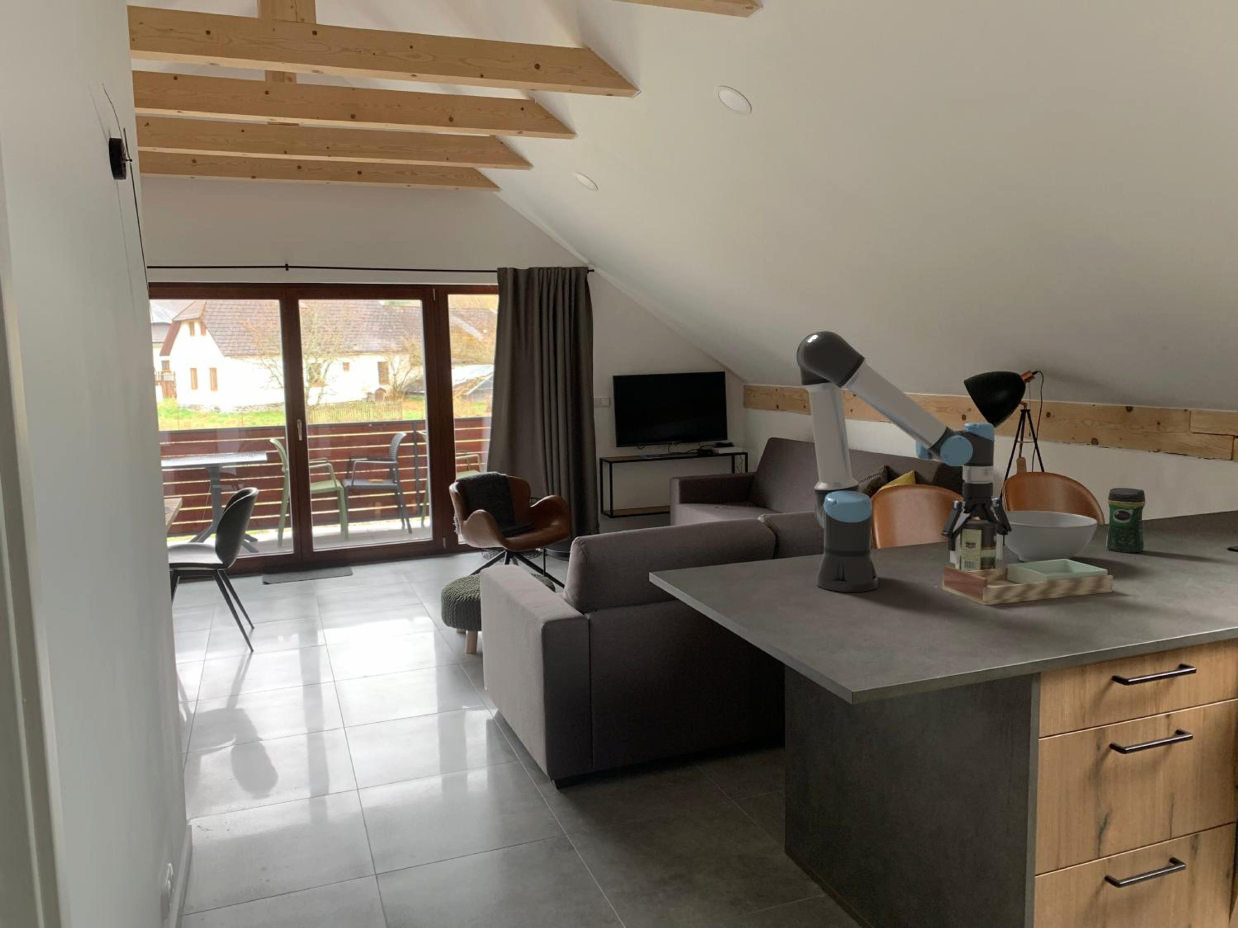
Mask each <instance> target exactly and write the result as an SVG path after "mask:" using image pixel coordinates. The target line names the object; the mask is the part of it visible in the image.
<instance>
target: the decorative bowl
mask: <svg viewBox="0 0 1238 928" xmlns="http://www.w3.org/2000/svg"><path fill="white" fill-rule="evenodd" d="M1005 513H1006V516H1007V518H1008V521H1009V523H1010V526H1011V528H1012V531H1011V532H1008V535H1005V546H1006V547H1007V548H1008V549H1009V550H1010V551H1012V552H1013V553H1014V554H1016V555H1018V560H1020V561H1022V562H1023V563H1026V562H1037V561H1048V560H1059V559H1068V560H1069V559H1070V558H1072V557H1074V556H1077V554H1079V553H1080V552H1081V551H1083V550H1084V549H1085V548H1086V547H1087V546H1088V544H1089V543H1090V542H1091V540H1092V539H1093V536H1094V535H1095V533H1096V530H1097V528H1098V525H1099V521H1098V520H1097V519H1095V518H1093V517H1090V516H1087V515H1082V514H1076V513H1070V512H1069V513H1068V512H1060V511H1049V510H1048V511H1046V510H1042V511H1041V510H1011V511H1005ZM994 516H995V517H996V518H997V516H996V513H994ZM997 520H998V518H997Z"/></svg>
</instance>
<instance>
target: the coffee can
mask: <svg viewBox="0 0 1238 928" xmlns="http://www.w3.org/2000/svg"><path fill="white" fill-rule="evenodd" d="M997 526H998V523H996V522H990V521H988V520H987V519H977V518H976V519H974V518H972V519H970V520H969V521H968V523H967V524H964V528H963V530H962V531H961V533H960V534H959V535H958V537H957V538H956V539H959V564H955V566H954V568H957V569H960V570H963V571H975V570H986V569H997V559H996V545H997V534H998V533H997Z"/></svg>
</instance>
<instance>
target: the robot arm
mask: <svg viewBox="0 0 1238 928" xmlns="http://www.w3.org/2000/svg"><path fill="white" fill-rule="evenodd" d="M795 355H796V356H795V359H796V363H797V365H798V367H799V372H800V373H799V374H800V380H801V387H802V388H803V389H805V390H806V391H807V392H808V399H809V406H810V416H811V422H812V423H811V424H812V431H813V439H814V448H815V450H814V451H815V456H816V464H817V475H818V481H817V482H816V484H815V485H814V487H813V489H814V496H815V505H814V515H815V518H816V521H817V522H818V524H819V525H820V527H822V528H823V556H822V559H821V561H820V565H819V567H818V571H817V573H816V577H815V578H816V582H815V584H816V586H817V587H820V588H821V589H825V590H829V591H835V592H842V593H843V592H845V593H860V592H863V593H864V592H869V591H874V590H875V589H877V588H878V583H879V582H878V576H877V572H876V568H875V566H874V562H873V559H872V556H871V555H872V519H873V518H872V517H873V505H872V499H871V497H870V496H869V495H868V494H865V493H863V492H861V491H860V486H859V482H858V480H857V479H855V478H854V477H853V475H852V466H851V458H850V456H851V455H850V450H849V449H850V448H849V442H848V431H847V423H846V415H845V407H844V398H843V397H844V396H843V391H842V389H846V390H849V391H850V392H851V393H852V394H853V395H855V396H856V397H857V398H859V399H861V401H863V402H864V403H866V405H868V406H869V407H871V408H872V409H873V410H875V411H876V412H877V413H878V414H880V415H881V416H883V417H884V418H885V419H887V420H888V421H889V422H891V423H892V424H893V425H894V426H896V428H898V429H899V430H901V431H902V432H903V433H905V434H907V435H908V437H910V438H911V439H913V440H914V441H915V453H916V456H917V458H918V459H919V460H925V461H926V460H928V461H931V460H932V461H933V460H935V461H939V462H942V463H944V464H945V465H946V466H949V467H961V466H962V480H963V482H962V496H963V500H962V501H960V500H955V499H954V500H953V501H952V504H951V511H950V513H949V515H948V517H947V519H946V521H945V523H944V526H943V529H942V530H941V536H943V537H945V538H947V540H948V541H947V543H948V545H947V549H948V551H949V563H952V564H955V565H956V564H959V539H956V538H957V537H958V535H959V534H960V533H961V531H962V530H963V528H964V524H967V523H968V521H969V520H970V519H974V518H978V517H982V518H983V517H984V518H985V520H988V521H990V522H996V523H998V526H997V545H996V560H1003V556H1004V555H1003V550H1004V549H1003V548H1004V547H1005V546H1006V544H1005V535H1008V532H1011V531H1012V528H1011V526H1010V523H1009V521H1008V518H1007V516H1006V513H1005V512H1006V511H1005V509H1004V504H1003V499H1002V498H999V497H993V495H994V483H993V480H994V467H995V466H994V465H995V464H994V461H995V459H994V458H995V457H994V455H995V442H996V440H995V426H994V425H993V424H992V423H990V422H984V421H983V422H980V421H979V422H976V421H973V422H966V423H964V425H963V428H962V430H953V429H952V428H950V427H949V426H948V425H946V424H945V423H944V422H943V421H942V420H940V419H939V418H938V417H936V416H934V415H933V414H932V413H931V412H929V411H928V410H927V409H926V408H924V407H923V406H922V405H920V404H919V403H918V402H916V401H915V400H914V399H913V398H912V397H910V396H909V395H908V394H906V393H905V392H904V391H902V390H901V389H899V388H898V387H897V386H895V385H894V384H893V383H891V381H889V380H888V379H887V378H885V377H884V376H883V375H881V374H880V373H879V372H877V370H875V369H873V368H872V367H871V366H869V364H868V363H867V358H866V357H865V356H863V355H862V354H860V353H859V351H857V350H856V349H855V348H854V347H853V346H852V345H851V344H849V342H848V341H846V339H844V338H843V337H842V336H841V335H840V334H838V333H835V332H833V331H828V330H825V331H824V330H823V331H816V332H812V333H810V334H808V335H807V336H805V337H804V338H803V339H802V340H801V341H800V342H799V344H798V347H797V350H796V354H795ZM991 508H992V509H993V510H994V512H993V510H992V509H991ZM995 514H996V516H997V518H998V520H997V518H996V517H995V516H994V515H995Z"/></svg>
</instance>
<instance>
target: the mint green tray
mask: <svg viewBox="0 0 1238 928" xmlns="http://www.w3.org/2000/svg"><path fill="white" fill-rule="evenodd" d="M1007 568H1008V574H1007V580H1010V581H1013V582H1016V583H1019V584H1024V583H1034V582H1044V581H1054V580H1065V579H1075V578H1085V577H1095V576H1105V575H1108V569H1106V568H1101V567H1097V566H1094V565H1090V564H1087V563H1082V562H1078V561H1074V560H1071V559H1069V558H1068V559H1059V560H1048V561H1037V562H1019V563H1018V562H1017V563H1007Z"/></svg>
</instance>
